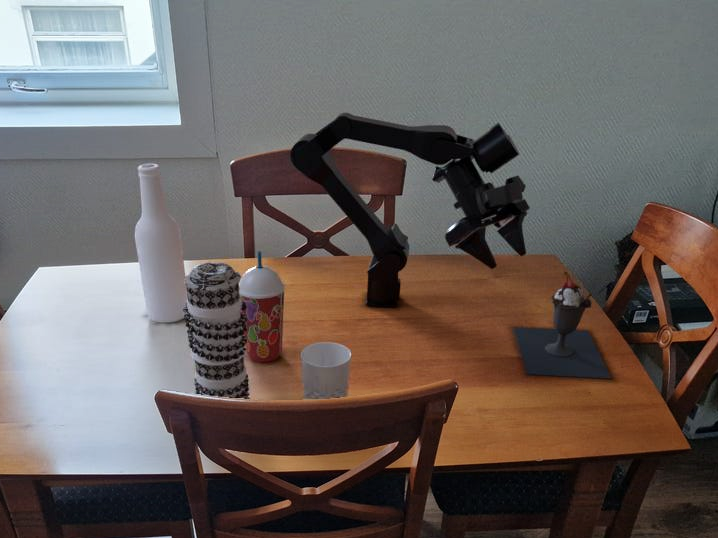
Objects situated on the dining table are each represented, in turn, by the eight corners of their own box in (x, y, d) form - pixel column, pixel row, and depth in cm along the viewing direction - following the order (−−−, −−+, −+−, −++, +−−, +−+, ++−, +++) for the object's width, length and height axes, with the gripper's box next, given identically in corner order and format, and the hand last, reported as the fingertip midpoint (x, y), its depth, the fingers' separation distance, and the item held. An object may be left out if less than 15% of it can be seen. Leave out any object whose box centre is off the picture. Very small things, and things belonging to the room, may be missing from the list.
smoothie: (292, 347, 124) (290, 245, 112) (277, 369, 117) (273, 263, 106) (251, 341, 126) (245, 241, 115) (234, 362, 120) (226, 258, 108)
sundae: (534, 342, 123) (550, 267, 114) (569, 341, 123) (588, 265, 115) (547, 360, 118) (565, 282, 109) (584, 358, 118) (605, 280, 109)
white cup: (346, 423, 103) (348, 368, 97) (297, 418, 104) (296, 364, 99) (352, 396, 109) (354, 343, 104) (305, 392, 111) (305, 340, 105)
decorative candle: (210, 395, 111) (195, 253, 97) (261, 404, 108) (253, 260, 94) (186, 425, 104) (166, 276, 89) (239, 435, 101) (228, 284, 87)
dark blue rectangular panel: (527, 374, 114) (527, 373, 114) (513, 327, 129) (513, 327, 128) (611, 379, 112) (612, 378, 112) (587, 331, 127) (587, 330, 127)
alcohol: (182, 302, 142) (164, 157, 125) (195, 318, 135) (178, 168, 118) (142, 310, 139) (118, 163, 122) (154, 327, 132) (130, 174, 115)
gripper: (466, 172, 110) (511, 252, 110) (530, 153, 120) (571, 227, 119) (425, 208, 120) (466, 282, 119) (487, 188, 130) (526, 256, 129)
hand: (509, 261), depth 121 cm, fingers open, 9 cm apart
